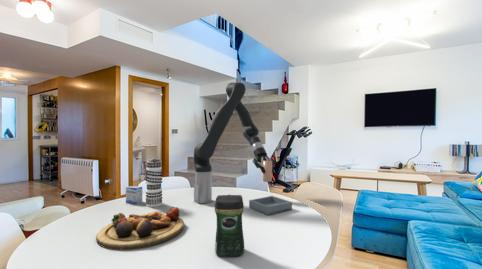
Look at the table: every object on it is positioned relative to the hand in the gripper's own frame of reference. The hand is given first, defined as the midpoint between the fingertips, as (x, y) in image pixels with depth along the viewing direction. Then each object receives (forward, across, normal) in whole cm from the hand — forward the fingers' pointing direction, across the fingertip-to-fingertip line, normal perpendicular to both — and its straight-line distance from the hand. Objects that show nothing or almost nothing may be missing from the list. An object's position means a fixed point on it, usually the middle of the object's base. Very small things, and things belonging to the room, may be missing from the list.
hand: (268, 172), depth 143 cm
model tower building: (-1, -62, +26) cm, 67 cm away
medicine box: (-8, -71, +32) cm, 79 cm away
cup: (+3, 0, +5) cm, 5 cm away
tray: (+22, -8, +1) cm, 23 cm away
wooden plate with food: (+25, -69, 0) cm, 74 cm away
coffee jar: (+46, -45, -23) cm, 68 cm away
